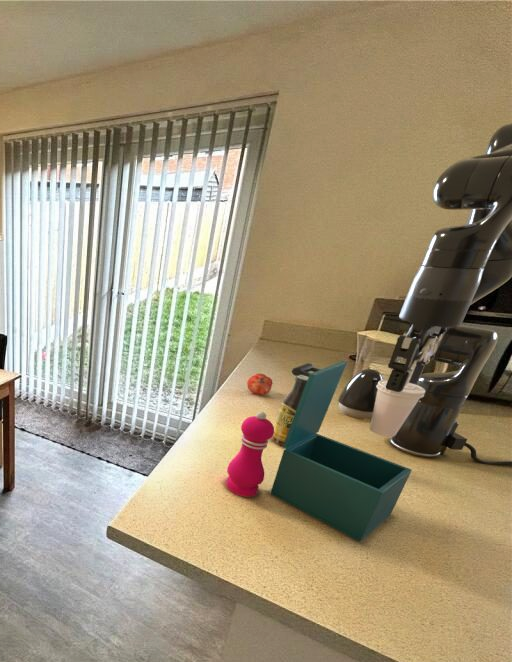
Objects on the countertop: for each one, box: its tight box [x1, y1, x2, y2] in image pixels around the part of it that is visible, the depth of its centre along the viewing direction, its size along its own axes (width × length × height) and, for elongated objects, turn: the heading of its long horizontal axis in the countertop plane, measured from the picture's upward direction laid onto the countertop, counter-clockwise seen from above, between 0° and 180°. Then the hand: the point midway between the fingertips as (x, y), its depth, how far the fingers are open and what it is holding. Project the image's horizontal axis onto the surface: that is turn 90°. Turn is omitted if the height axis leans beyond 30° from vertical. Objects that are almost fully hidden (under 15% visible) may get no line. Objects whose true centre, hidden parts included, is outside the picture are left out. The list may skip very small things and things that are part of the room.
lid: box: [282, 360, 348, 450], centre depth 85 cm, size 17×14×6 cm
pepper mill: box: [225, 411, 274, 498], centre depth 87 cm, size 7×7×20 cm
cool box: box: [270, 432, 413, 542], centre depth 83 cm, size 17×14×12 cm
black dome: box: [337, 368, 385, 420], centre depth 119 cm, size 10×10×15 cm
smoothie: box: [369, 364, 425, 438], centre depth 73 cm, size 6×6×14 cm
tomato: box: [246, 373, 273, 396], centre depth 137 cm, size 7×7×10 cm
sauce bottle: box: [270, 375, 309, 447], centre depth 104 cm, size 6×6×20 cm
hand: (401, 385), depth 72 cm, fingers closed on smoothie, 6 cm apart
